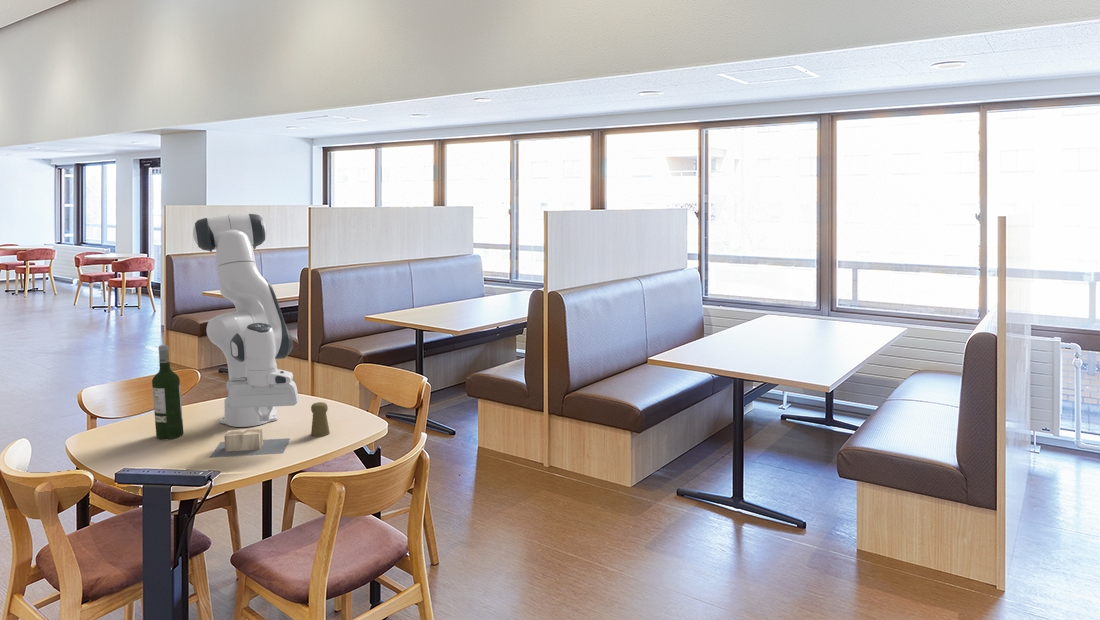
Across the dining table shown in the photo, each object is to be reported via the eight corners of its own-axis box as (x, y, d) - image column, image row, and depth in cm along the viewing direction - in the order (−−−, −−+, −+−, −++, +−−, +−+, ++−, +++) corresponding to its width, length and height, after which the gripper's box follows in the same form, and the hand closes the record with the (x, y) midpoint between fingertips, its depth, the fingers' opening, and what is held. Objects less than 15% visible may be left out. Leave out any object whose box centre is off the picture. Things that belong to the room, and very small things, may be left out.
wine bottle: (151, 437, 239) (143, 346, 235) (173, 430, 246) (166, 342, 242) (166, 441, 236) (159, 349, 231) (188, 434, 243) (182, 344, 238)
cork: (309, 439, 239) (308, 406, 237) (311, 433, 245) (310, 401, 243) (329, 438, 240) (327, 405, 238) (330, 432, 246) (329, 400, 244)
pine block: (263, 444, 232) (229, 446, 230) (262, 428, 231) (228, 430, 229) (259, 449, 227) (225, 451, 225) (259, 433, 226) (224, 435, 224)
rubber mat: (220, 443, 234) (220, 442, 234) (290, 440, 238) (290, 438, 238) (209, 459, 220) (209, 457, 220) (283, 455, 224) (283, 453, 224)
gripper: (223, 380, 221) (226, 425, 223) (295, 377, 225) (297, 421, 227) (228, 375, 227) (231, 418, 230) (297, 372, 231) (300, 415, 233)
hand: (264, 420), depth 228 cm, fingers closed
